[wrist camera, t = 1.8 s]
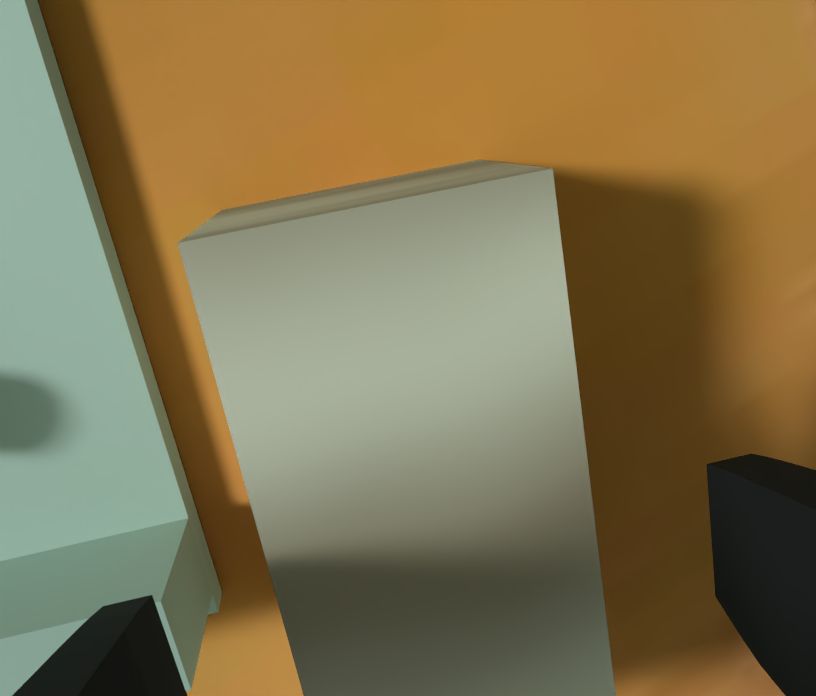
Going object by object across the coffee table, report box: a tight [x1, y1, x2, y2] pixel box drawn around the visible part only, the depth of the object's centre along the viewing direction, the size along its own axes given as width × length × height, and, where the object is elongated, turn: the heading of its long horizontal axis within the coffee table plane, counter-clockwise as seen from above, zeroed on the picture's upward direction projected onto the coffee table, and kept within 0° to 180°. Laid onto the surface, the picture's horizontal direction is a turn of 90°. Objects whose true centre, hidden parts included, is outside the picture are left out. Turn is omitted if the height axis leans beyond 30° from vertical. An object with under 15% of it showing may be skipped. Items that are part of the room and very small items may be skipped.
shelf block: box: [178, 160, 616, 696], centre depth 12 cm, size 10×4×4 cm, turn 10°
